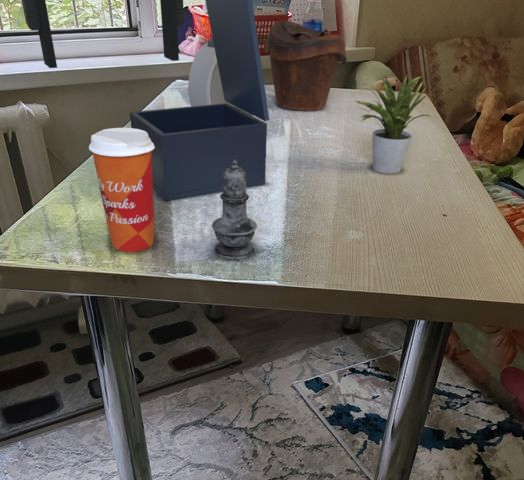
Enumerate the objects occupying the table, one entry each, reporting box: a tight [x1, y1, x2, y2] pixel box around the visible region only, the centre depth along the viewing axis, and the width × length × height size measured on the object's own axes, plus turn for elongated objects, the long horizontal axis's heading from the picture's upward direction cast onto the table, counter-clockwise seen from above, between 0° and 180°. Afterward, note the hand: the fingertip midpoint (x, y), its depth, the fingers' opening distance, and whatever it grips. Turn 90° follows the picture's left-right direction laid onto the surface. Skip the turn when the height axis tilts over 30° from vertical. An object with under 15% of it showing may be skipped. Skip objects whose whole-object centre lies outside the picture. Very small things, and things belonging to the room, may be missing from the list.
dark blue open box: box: [129, 103, 268, 202], centre depth 92 cm, size 18×15×10 cm
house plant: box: [354, 73, 433, 175], centre depth 98 cm, size 14×14×16 cm
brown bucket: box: [264, 19, 348, 112], centre depth 134 cm, size 18×20×18 cm
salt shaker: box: [211, 159, 258, 260], centre depth 69 cm, size 6×6×12 cm
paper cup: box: [88, 127, 155, 253], centre depth 69 cm, size 8×8×14 cm
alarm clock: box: [187, 36, 253, 116], centre depth 111 cm, size 16×10×18 cm, turn 146°
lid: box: [204, 0, 270, 122], centre depth 86 cm, size 19×15×6 cm
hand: (113, 62), depth 61 cm, fingers open, 13 cm apart
